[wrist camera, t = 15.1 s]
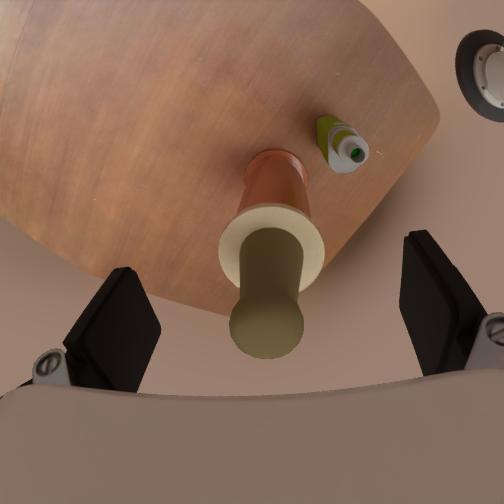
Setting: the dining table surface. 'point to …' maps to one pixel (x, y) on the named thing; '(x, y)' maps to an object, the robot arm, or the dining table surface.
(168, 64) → the dining table surface
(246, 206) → the column
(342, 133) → the vape
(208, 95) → the dining table surface
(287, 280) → the olive pawn
